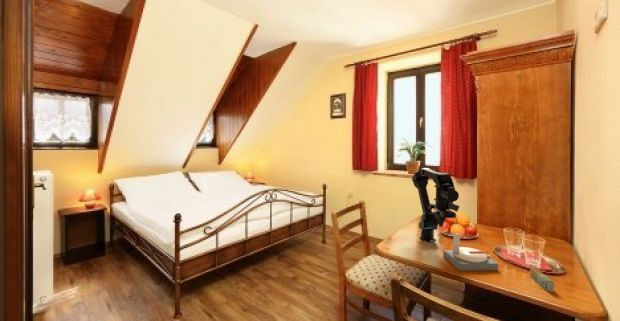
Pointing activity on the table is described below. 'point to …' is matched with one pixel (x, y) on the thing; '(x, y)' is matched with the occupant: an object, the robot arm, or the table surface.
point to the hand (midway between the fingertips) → (440, 226)
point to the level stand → (470, 263)
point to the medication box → (542, 279)
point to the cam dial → (467, 252)
